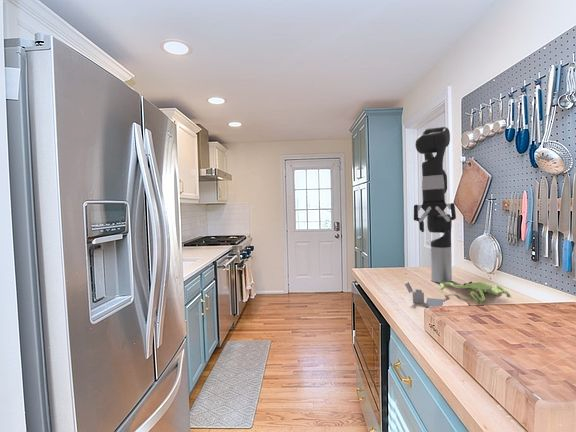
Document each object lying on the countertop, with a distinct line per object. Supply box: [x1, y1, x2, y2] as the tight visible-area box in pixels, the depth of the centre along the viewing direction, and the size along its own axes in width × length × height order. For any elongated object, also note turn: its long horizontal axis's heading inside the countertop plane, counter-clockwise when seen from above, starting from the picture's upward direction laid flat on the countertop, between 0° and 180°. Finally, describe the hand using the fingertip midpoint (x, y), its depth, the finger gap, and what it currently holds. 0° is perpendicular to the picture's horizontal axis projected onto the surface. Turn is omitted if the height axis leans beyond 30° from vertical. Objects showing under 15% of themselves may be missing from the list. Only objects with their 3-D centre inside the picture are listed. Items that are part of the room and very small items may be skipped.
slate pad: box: [425, 297, 448, 308], centre depth 129 cm, size 11×15×1 cm
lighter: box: [404, 281, 425, 304], centre depth 134 cm, size 7×2×8 cm, turn 64°
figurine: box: [439, 281, 510, 303], centre depth 141 cm, size 18×27×6 cm
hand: (435, 231), depth 124 cm, fingers open, 8 cm apart
